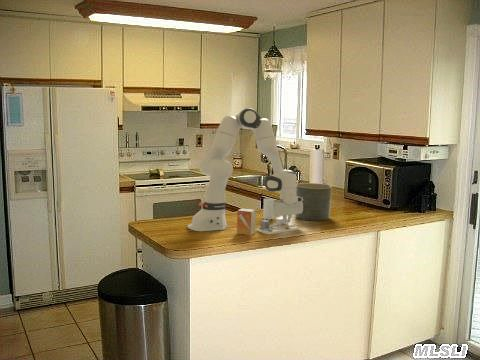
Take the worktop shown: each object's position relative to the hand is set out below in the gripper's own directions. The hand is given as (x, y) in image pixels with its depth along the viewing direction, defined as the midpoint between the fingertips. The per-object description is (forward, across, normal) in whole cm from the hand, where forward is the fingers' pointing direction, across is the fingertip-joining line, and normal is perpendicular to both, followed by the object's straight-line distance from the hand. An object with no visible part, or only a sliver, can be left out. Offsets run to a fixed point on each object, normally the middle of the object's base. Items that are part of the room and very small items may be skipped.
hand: (287, 222), depth 285 cm
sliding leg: (+2, -4, -2) cm, 5 cm away
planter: (+4, +33, +15) cm, 37 cm away
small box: (+3, -28, +2) cm, 28 cm away
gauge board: (+3, -8, -1) cm, 8 cm away
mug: (+4, +7, +24) cm, 25 cm away
